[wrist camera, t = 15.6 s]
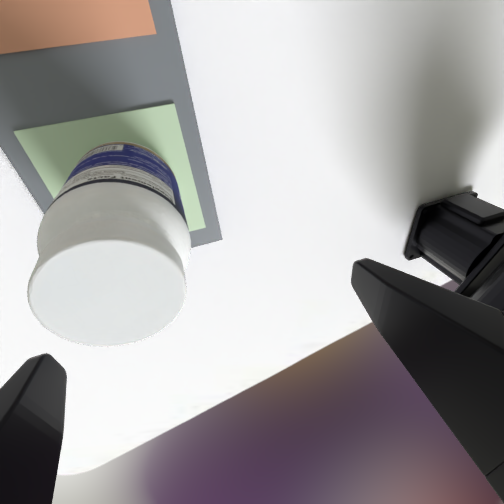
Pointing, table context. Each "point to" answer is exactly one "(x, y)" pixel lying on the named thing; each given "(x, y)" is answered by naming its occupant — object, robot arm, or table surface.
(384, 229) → the table surface
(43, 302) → the pill bottle
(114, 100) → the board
